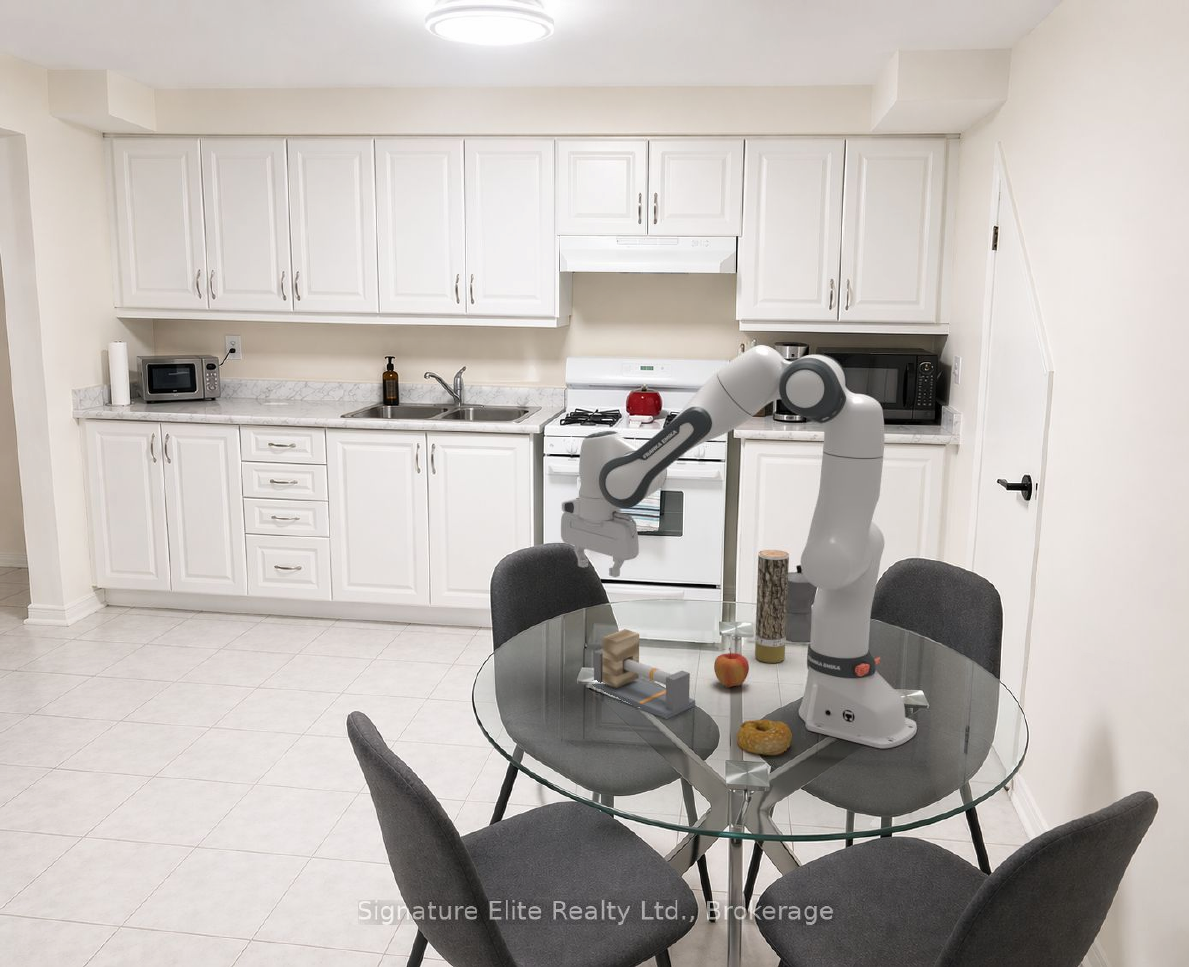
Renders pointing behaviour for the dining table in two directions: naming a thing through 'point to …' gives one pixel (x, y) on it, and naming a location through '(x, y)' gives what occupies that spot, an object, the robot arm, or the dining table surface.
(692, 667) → the dining table surface
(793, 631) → the coffeepot
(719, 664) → the apple
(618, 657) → the collar
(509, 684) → the dining table surface
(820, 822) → the dining table surface
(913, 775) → the dining table surface
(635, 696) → the pipe stand
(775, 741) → the bagel
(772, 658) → the brown tall cylinder piece
